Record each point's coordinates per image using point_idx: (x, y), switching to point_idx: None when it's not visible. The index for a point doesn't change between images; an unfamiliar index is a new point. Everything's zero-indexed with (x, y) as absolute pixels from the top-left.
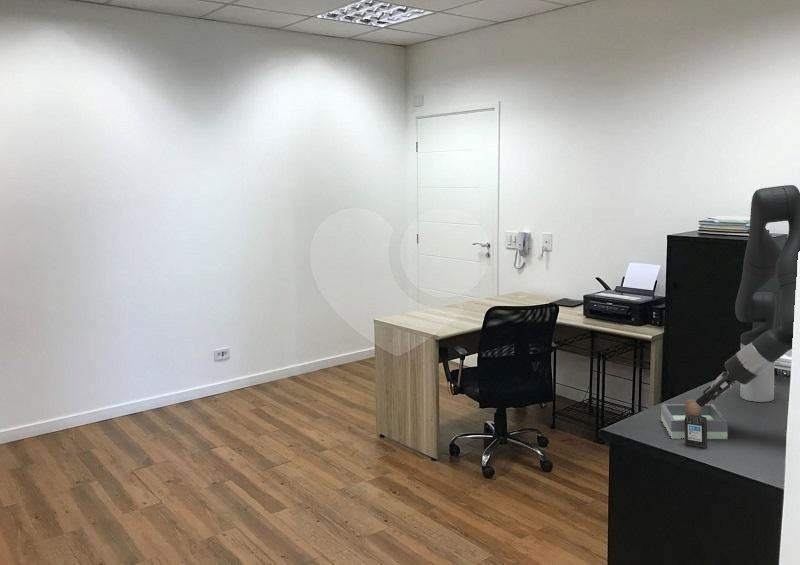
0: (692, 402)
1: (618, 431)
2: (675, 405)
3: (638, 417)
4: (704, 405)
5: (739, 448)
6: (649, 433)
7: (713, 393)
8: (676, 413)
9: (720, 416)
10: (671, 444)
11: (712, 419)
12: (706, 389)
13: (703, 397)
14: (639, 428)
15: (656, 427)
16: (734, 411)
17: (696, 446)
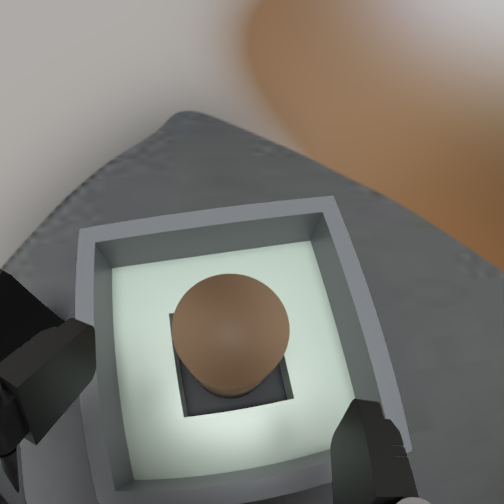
0: (211, 321)
1: (174, 129)
2: (337, 256)
3: (326, 174)
4: (381, 408)
5: (45, 498)
6: (160, 201)
7: (334, 487)
8: (326, 280)
9: (174, 494)
10: (56, 267)
11: (302, 451)
12: (360, 428)
13: (7, 359)
14: (209, 174)
15: None
16: (483, 490)
17: None
